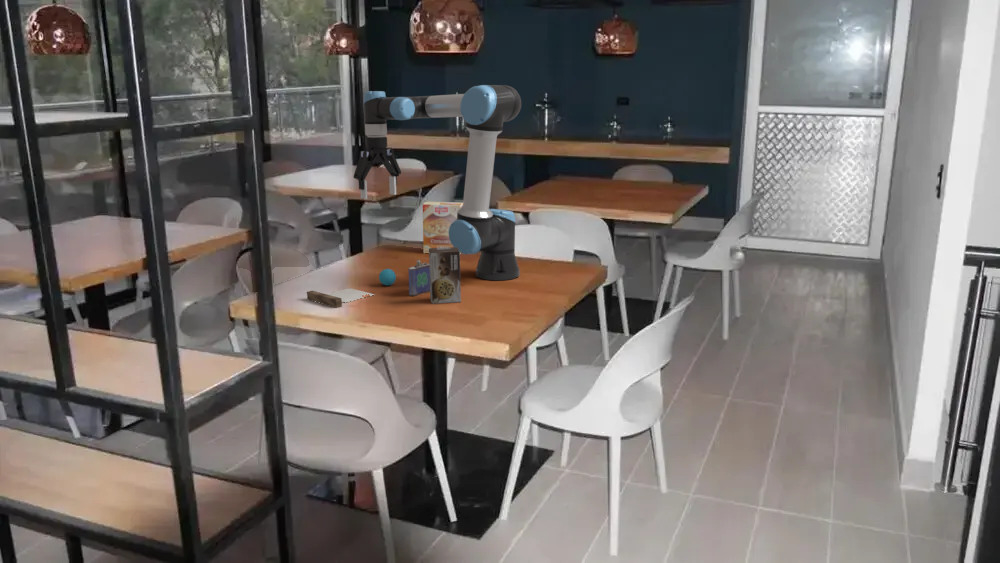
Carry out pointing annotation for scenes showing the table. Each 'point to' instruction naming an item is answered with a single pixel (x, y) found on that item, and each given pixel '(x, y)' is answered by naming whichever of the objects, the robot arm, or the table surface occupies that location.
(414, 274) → the flask
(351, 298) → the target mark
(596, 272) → the table surface
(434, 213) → the coffeecake box
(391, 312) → the table surface
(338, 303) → the strip
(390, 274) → the ball
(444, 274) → the cookie box
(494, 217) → the robot arm
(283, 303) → the table surface
